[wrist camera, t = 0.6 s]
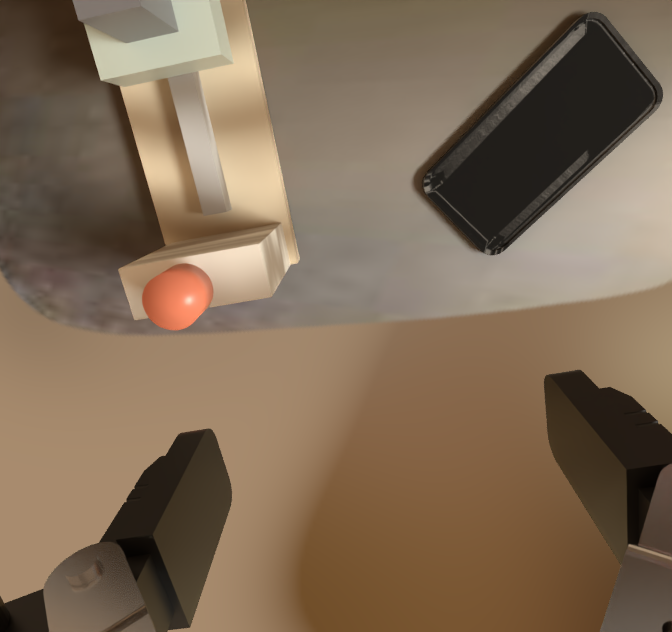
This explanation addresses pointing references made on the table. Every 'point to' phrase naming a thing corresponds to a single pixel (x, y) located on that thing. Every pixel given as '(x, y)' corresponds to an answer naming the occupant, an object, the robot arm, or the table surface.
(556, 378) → the robot arm
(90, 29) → the block
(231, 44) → the rail base
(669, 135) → the table surface
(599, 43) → the phone
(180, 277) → the button
